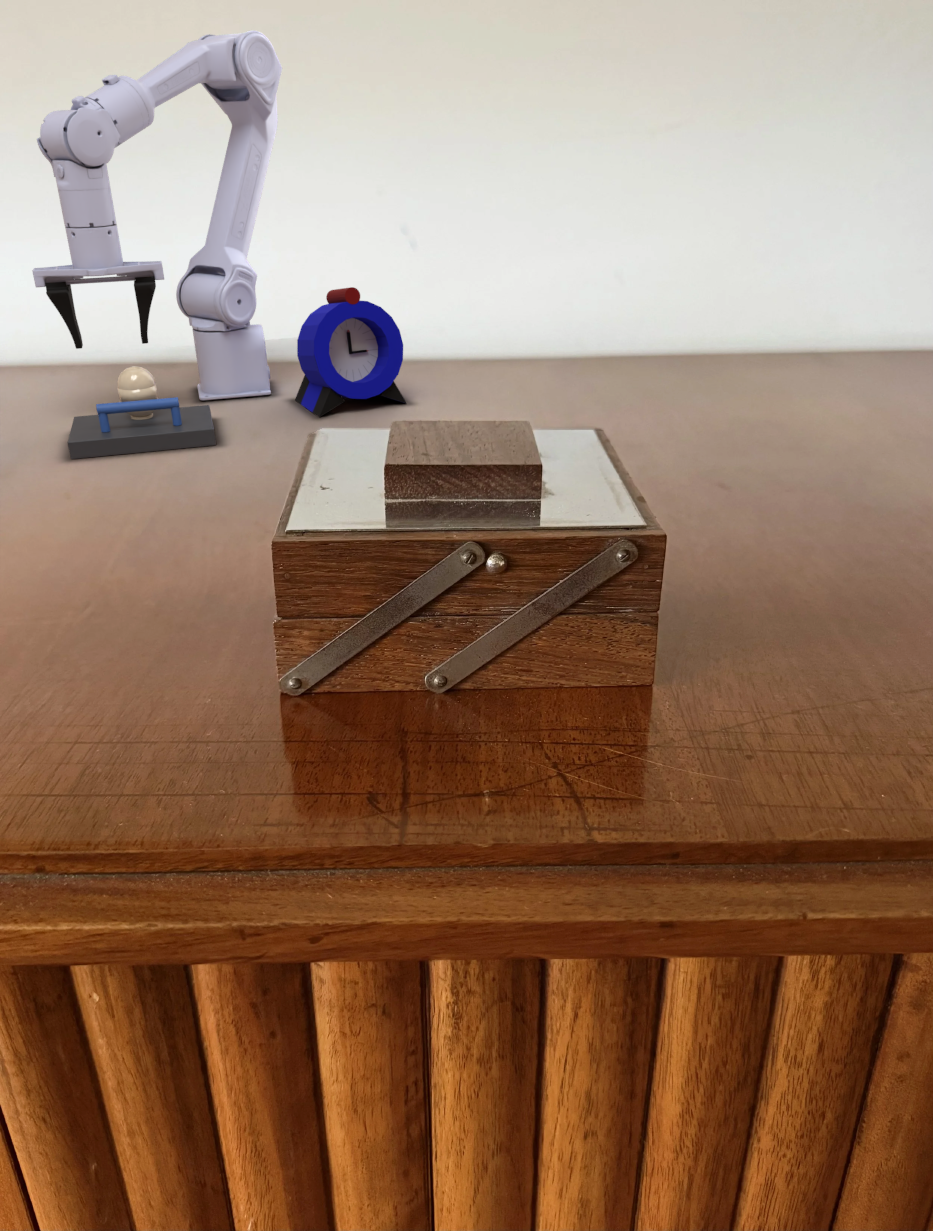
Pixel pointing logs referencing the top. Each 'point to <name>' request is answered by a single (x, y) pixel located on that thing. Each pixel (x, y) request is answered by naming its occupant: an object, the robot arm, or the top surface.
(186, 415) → the handle board
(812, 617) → the top surface
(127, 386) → the lidded jar
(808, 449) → the top surface
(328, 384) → the alarm clock
